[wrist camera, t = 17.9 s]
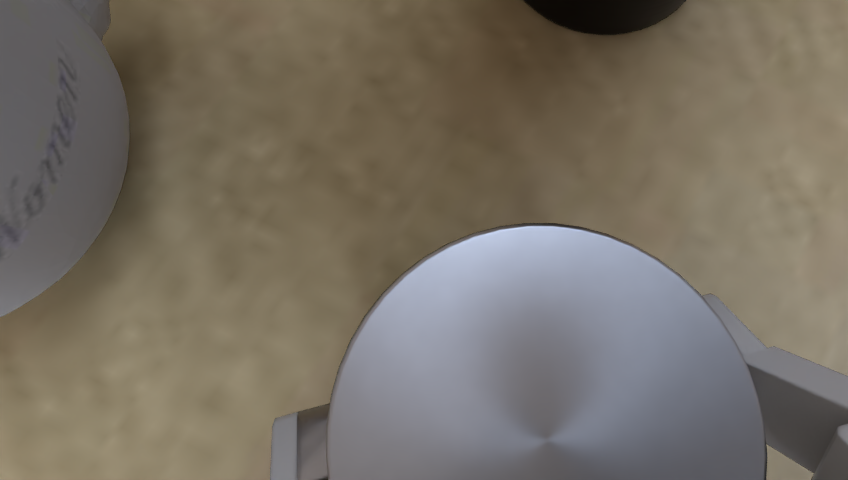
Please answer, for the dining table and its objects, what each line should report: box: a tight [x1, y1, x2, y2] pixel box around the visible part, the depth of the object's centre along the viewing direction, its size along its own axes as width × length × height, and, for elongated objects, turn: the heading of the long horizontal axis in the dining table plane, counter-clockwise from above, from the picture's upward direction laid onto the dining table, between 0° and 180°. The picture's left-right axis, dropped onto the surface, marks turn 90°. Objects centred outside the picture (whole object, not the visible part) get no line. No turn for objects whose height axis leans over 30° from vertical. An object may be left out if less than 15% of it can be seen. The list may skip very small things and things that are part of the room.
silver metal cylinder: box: [326, 223, 767, 480], centre depth 12 cm, size 6×6×8 cm
